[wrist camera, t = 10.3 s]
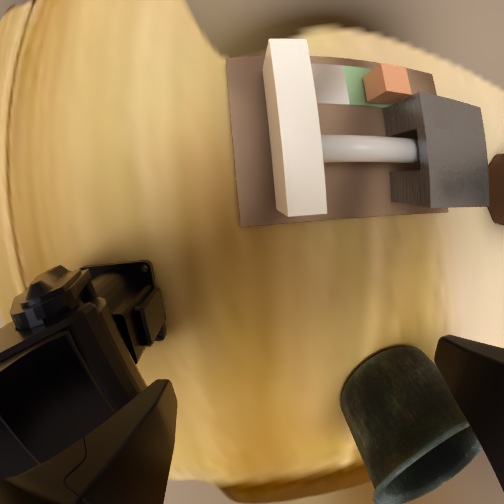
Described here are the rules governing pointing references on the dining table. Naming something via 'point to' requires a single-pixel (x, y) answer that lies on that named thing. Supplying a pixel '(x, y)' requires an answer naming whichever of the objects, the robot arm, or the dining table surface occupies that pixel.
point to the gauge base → (331, 123)
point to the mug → (406, 425)
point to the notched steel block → (440, 152)
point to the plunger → (311, 133)
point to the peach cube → (386, 84)
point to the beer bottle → (496, 189)
